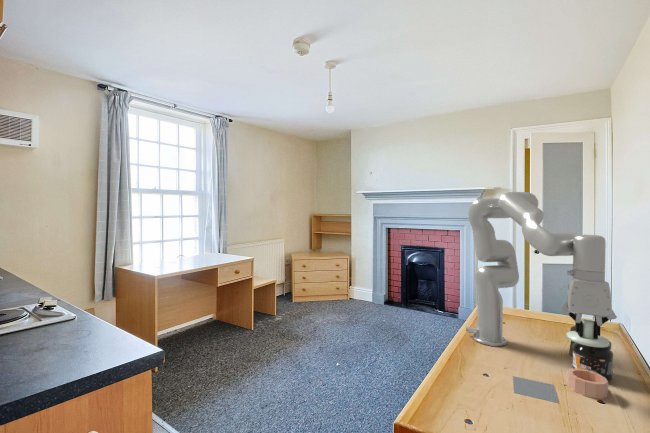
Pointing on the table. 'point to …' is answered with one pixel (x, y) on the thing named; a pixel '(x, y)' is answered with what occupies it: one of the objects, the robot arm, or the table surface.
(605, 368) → the supplement container
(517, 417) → the table surface
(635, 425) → the table surface
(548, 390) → the mat
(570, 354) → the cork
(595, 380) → the bowl
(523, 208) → the robot arm
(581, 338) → the lid
